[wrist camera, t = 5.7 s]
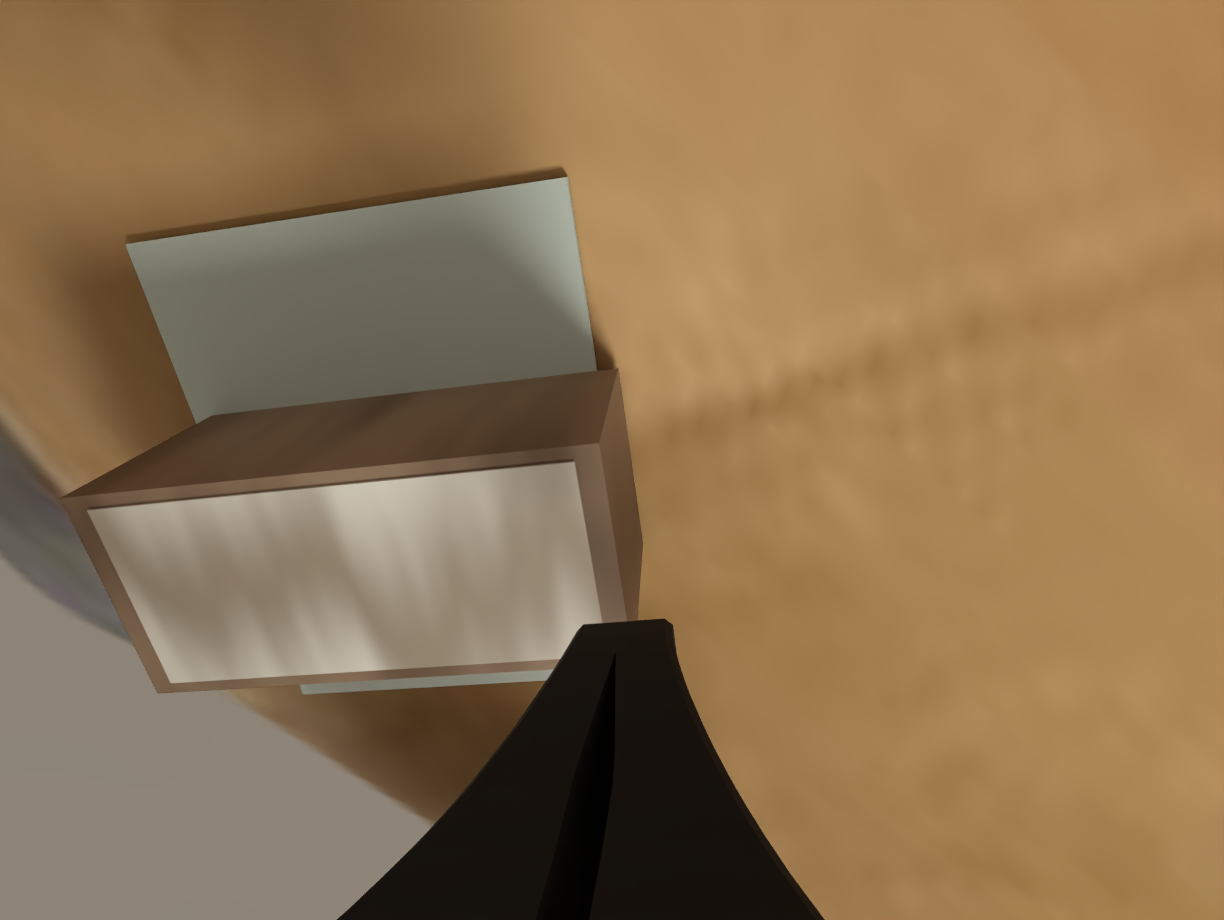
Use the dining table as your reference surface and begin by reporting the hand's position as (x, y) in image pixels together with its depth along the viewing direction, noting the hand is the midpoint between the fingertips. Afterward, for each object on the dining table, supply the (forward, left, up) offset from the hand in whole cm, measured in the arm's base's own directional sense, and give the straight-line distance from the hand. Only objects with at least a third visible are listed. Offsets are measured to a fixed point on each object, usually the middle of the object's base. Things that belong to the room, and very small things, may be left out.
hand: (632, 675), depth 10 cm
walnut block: (0, 0, -6) cm, 6 cm away
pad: (0, +6, -8) cm, 11 cm away
